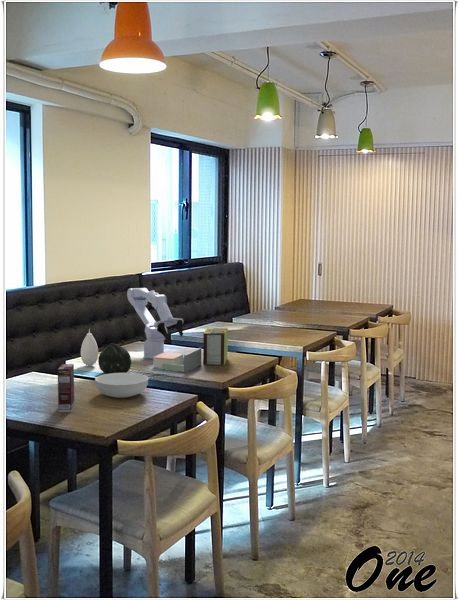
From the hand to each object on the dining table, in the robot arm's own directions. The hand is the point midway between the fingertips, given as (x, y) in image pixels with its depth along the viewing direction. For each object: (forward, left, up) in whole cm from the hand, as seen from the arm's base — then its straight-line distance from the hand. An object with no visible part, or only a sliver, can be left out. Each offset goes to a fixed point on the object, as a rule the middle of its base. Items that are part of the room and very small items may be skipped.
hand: (174, 336), depth 313 cm
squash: (-17, -26, -14) cm, 34 cm away
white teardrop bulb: (-35, -18, -14) cm, 42 cm away
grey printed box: (+6, -2, -14) cm, 15 cm away
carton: (-2, -2, -14) cm, 15 cm away
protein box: (+15, +16, -14) cm, 26 cm away
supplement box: (-6, -81, -14) cm, 82 cm away
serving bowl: (+3, -56, -14) cm, 58 cm away
